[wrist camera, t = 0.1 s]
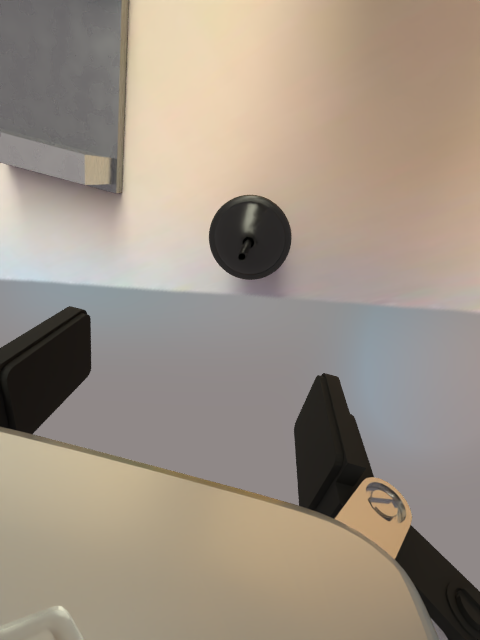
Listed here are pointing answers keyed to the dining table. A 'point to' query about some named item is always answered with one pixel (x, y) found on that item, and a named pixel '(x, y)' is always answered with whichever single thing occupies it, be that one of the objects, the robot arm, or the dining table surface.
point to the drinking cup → (250, 237)
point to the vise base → (64, 88)
